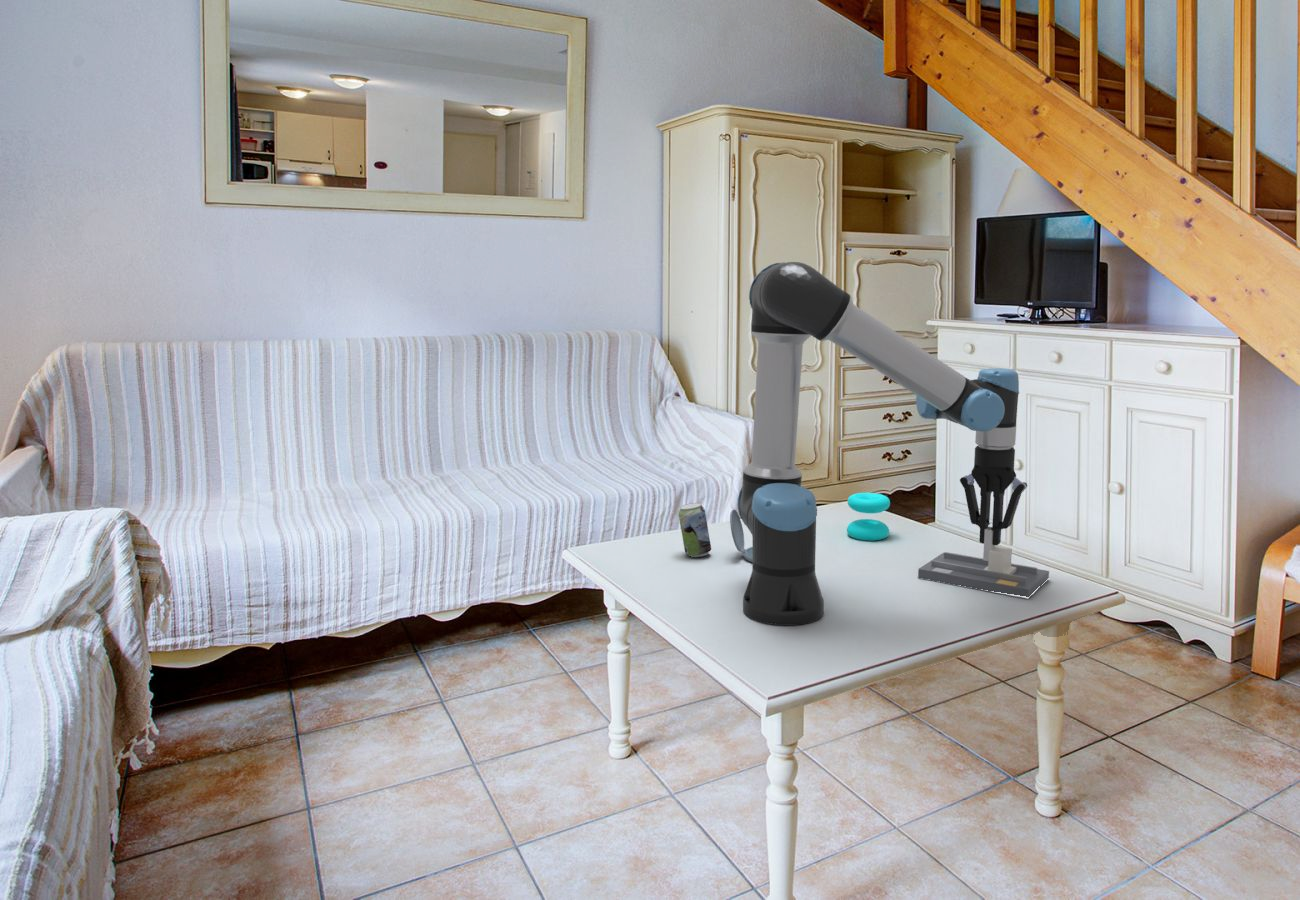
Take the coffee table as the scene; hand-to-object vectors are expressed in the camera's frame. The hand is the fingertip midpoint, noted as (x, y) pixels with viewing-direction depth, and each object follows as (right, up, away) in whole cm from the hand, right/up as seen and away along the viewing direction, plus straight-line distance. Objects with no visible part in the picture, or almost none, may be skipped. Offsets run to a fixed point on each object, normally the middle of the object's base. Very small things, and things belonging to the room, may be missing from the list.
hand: (988, 559), depth 184 cm
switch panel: (-1, -4, +1) cm, 5 cm away
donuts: (-17, +1, +34) cm, 38 cm away
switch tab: (+2, -3, -1) cm, 3 cm away
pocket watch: (-44, -2, +18) cm, 47 cm away
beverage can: (-59, -2, +21) cm, 63 cm away
